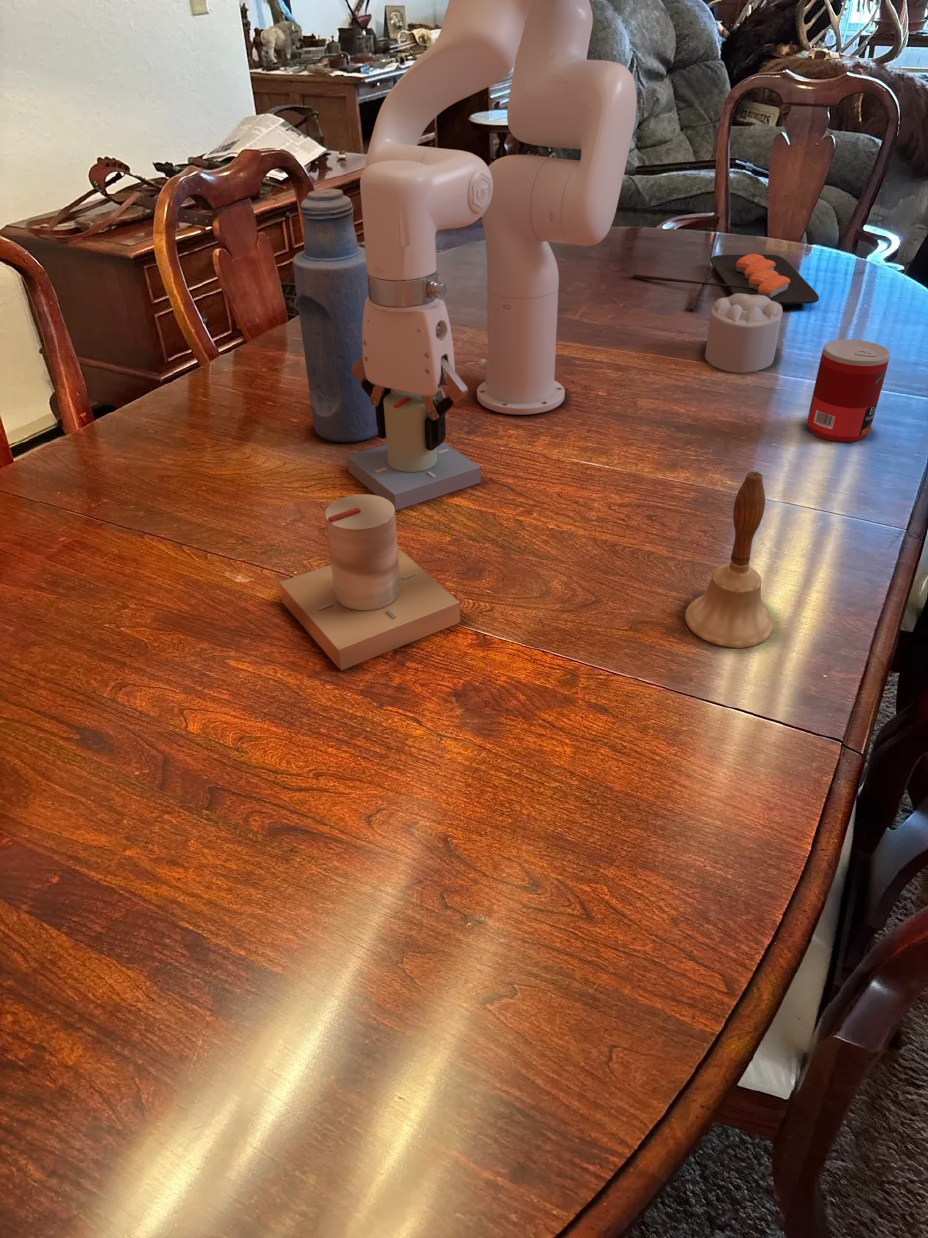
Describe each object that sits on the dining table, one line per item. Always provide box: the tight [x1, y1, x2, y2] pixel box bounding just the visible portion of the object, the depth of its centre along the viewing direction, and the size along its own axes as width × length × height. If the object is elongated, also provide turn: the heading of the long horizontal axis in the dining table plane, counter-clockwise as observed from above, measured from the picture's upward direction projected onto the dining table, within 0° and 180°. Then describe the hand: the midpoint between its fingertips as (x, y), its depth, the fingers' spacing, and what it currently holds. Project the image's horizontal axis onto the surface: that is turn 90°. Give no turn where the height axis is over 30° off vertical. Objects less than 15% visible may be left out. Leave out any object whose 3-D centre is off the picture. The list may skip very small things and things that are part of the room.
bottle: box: [292, 188, 378, 444], centre depth 116 cm, size 10×10×30 cm
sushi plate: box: [632, 253, 820, 312], centre depth 171 cm, size 29×30×4 cm
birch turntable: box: [278, 547, 461, 672], centre depth 90 cm, size 13×13×3 cm
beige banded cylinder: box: [324, 493, 401, 611], centre depth 87 cm, size 6×6×9 cm
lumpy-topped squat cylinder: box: [704, 293, 783, 374], centre depth 141 cm, size 10×13×9 cm
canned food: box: [806, 339, 891, 443], centre depth 119 cm, size 8×8×11 cm
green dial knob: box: [384, 390, 437, 472], centre depth 110 cm, size 6×6×8 cm
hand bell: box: [684, 471, 774, 649], centre depth 84 cm, size 8×8×16 cm
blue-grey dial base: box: [346, 441, 482, 512], centre depth 113 cm, size 12×12×2 cm
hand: (411, 438), depth 111 cm, fingers closed on green dial knob, 6 cm apart
